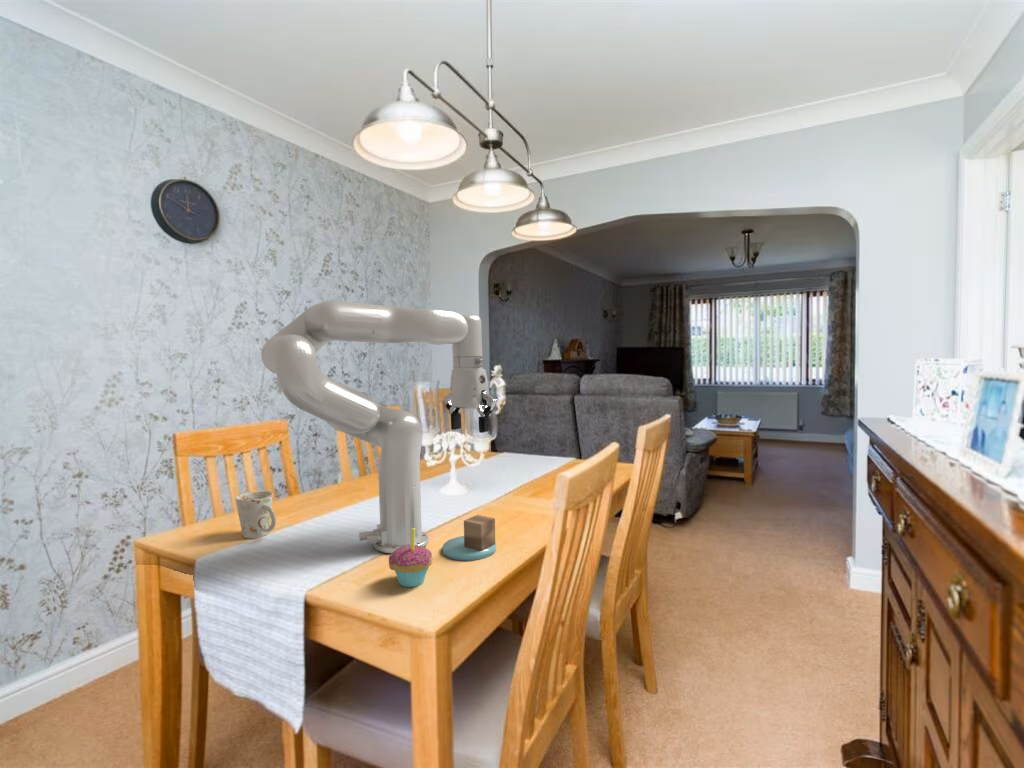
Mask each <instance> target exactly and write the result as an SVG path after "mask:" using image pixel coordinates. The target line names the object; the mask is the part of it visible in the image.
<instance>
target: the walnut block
mask: <svg viewBox="0 0 1024 768" xmlns="http://www.w3.org/2000/svg"><path fill="white" fill-rule="evenodd" d="M463 536H464V547H467V548H471V549H475V550H479V551H483V550H485V549H487V548H489V547H491V546H493V545H495V543H496V518H495V517H491V516H485V515H481V514H476V515H474V516H471V517H469V518H466V519H464V520H463Z"/></svg>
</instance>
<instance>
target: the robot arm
mask: <svg viewBox="0 0 1024 768" xmlns="http://www.w3.org/2000/svg"><path fill="white" fill-rule="evenodd" d="M482 335H483V334H482V320H481V317H480V316H479V315H476V314H460V313H459V312H456V311H452V310H445V309H444V310H442V309H433V308H432V309H431V308H417V307H404V306H396V305H395V306H394V305H383V304H373V303H364V302H363V303H362V302H353V301H352V302H351V301H342V300H326V301H323V302H319V303H315V304H313V305H311V306H310V307H308V308H307V309H305V311H303V312H302V313H301V314H300V315H299V316H297V317H295V319H293V320H292V321H291V322H289V324H287V325H285V326H284V327H283V328H281V329H280V330H279V331H278V332H277V333H276V334H274V335H272V336H271V337H270V338H269V339H268V340H266V342H265V343H264V345H263V346H262V349H261V352H260V353H261V354H260V356H261V357H260V358H261V361H262V364H263V366H264V367H265V368H266V369H267V370H268V371H269V372H271V373H273V374H275V375H276V379H277V383H278V385H279V387H280V390H281V392H282V393H283V395H284V396H285V398H286V399H287V400H288V402H290V403H291V404H292V405H293V406H295V407H296V408H298V409H299V410H302V411H303V412H305V413H307V414H309V415H312V416H314V417H315V418H318V419H320V420H323V421H324V422H326V423H327V424H328V425H329V426H330V427H331V428H333V429H335V430H337V431H338V432H342V433H344V434H346V435H349V436H351V437H353V438H356V439H359V440H361V441H364V442H366V443H368V444H371V445H374V446H377V447H379V448H381V449H380V455H379V461H378V470H377V473H378V478H377V479H378V496H379V497H378V501H379V503H378V505H379V506H378V507H379V524H377V525H376V528H373V529H372V530H370V531H361V532H360V531H359V533H358V535H359V536H358V537H359V542H361V541H366V543H371V542H373V547H374V549H375V550H376V551H379V552H380V551H381V553H387V554H392V552H394V551H395V550H396V549H398V548H400V547H401V546H404V545H411V533H412V528H413V525H414V528H415V543H414V545H419V546H423V547H425V546H427V545H428V544H429V535H428V534H427V533H426V532H424V531H422V528H423V527H422V500H421V499H422V496H421V491H422V490H421V469H420V467H421V464H420V463H421V452H422V451H421V449H422V444H423V443H422V442H423V435H424V434H423V427H422V424H421V422H420V421H419V419H418V418H417V417H416V416H415V415H414V414H412V413H411V412H409V411H404V410H401V409H393V408H388V407H385V406H383V405H381V404H378V403H377V402H376V401H375V400H374V399H373V397H371V396H369V395H368V394H366V393H364V392H361V391H359V390H355V389H354V388H352V387H351V388H350V387H349V386H347V385H345V384H342V383H341V382H340V383H339V382H338V381H336V380H334V379H332V378H330V377H328V376H327V375H325V373H323V372H322V371H321V369H320V367H319V364H318V359H317V352H318V351H319V350H320V349H322V348H323V347H324V346H325V345H326V344H327V343H328V342H330V341H339V342H359V343H361V342H362V343H372V344H374V343H375V344H403V343H413V342H414V343H417V342H418V343H419V342H420V343H427V344H430V345H433V346H434V345H436V346H437V345H441V346H442V345H451V346H452V348H451V349H452V369H451V374H450V386H449V387H450V388H449V392H448V393H447V394H446V395H445V396H443V401H444V404H445V407H446V409H447V411H448V414H449V415H450V429H451V430H452V431H455V430H459V429H461V428H462V415H461V412H460V411H461V409H471V410H475V409H476V411H477V412H478V414H479V416H478V432H479V433H480V434H481V433H488V432H489V431H490V419H489V418H490V416H491V414H492V412H493V411H494V409H495V406H496V403H497V399H496V398H495V397H493V396H492V395H491V394H490V390H489V389H490V388H489V380H488V375H487V371H486V369H485V368H483V367H484V366H483V365H484V364H485V359H484V358H483V342H482V341H483V340H482V338H483V337H482Z"/></svg>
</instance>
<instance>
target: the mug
mask: <svg viewBox="0 0 1024 768" xmlns="http://www.w3.org/2000/svg"><path fill="white" fill-rule="evenodd" d="M273 498H274V493H273V492H272V491H270V490H268V491H267V490H257V491H249V492H245V493H241V494H239V495H237V496H236V497H235V503H236V504H235V505H236V508H237V514H238V519H239V524H240V527H241V533H242V535H241V536H242V537H243V538H245V539H258V538H262V537H265V536H267V535H269V534H270V532H271V531H273V530H274V528H275V527H276V523H277V521H276V520H277V518H276V515H275V511H274V509H273Z"/></svg>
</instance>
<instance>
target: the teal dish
mask: <svg viewBox="0 0 1024 768" xmlns="http://www.w3.org/2000/svg"><path fill="white" fill-rule="evenodd" d="M442 545H443V546H442V553H443V555H444V556H445V557H446V558H447V559H451V560H455V561H463V562H466V561H471V562H472V561H478V560H482V559H486V558H488V557H491V556H492V555H494V554H495V553H496V551H497V542H495V545H493V546H491V547H489V548H487V549H485V550H483V551H479V550H475V549H471V548H467V547H464V535H462V536H457V537H453V538H450V539H448V540H447V541H445V542H444V543H443V544H442Z"/></svg>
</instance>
